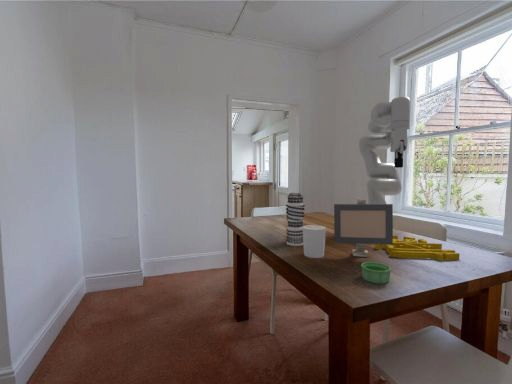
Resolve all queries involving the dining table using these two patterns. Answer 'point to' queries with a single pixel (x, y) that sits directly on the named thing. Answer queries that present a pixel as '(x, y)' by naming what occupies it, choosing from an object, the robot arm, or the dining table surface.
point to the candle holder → (314, 240)
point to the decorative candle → (295, 219)
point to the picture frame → (363, 223)
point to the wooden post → (360, 247)
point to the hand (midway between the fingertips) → (398, 167)
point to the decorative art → (417, 249)
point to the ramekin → (376, 272)
